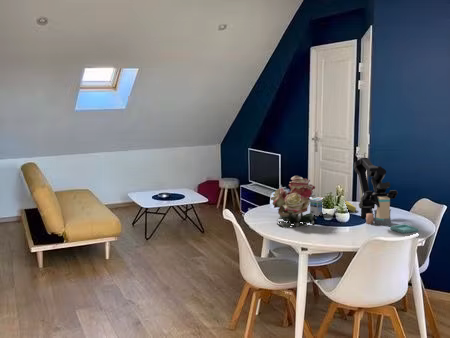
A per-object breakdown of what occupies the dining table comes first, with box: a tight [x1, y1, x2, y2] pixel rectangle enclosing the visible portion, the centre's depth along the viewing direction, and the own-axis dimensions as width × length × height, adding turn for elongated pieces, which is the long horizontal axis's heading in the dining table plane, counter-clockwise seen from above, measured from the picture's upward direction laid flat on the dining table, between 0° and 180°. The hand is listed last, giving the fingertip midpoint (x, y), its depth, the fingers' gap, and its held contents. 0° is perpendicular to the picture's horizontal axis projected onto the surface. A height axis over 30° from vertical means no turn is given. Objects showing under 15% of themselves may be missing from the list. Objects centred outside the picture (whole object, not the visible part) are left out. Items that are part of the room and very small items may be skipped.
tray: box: [389, 223, 420, 234], centre depth 292 cm, size 11×11×2 cm
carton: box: [376, 196, 391, 219], centre depth 295 cm, size 6×6×12 cm
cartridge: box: [365, 213, 375, 225], centre depth 309 cm, size 4×4×6 cm
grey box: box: [373, 208, 392, 226], centre depth 309 cm, size 8×9×8 cm
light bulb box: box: [309, 196, 324, 217], centre depth 335 cm, size 11×7×11 cm, turn 131°
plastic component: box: [344, 199, 357, 213], centre depth 349 cm, size 20×7×10 cm
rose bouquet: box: [270, 175, 317, 228], centre depth 312 cm, size 26×29×30 cm
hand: (384, 207), depth 293 cm, fingers closed on carton, 5 cm apart
